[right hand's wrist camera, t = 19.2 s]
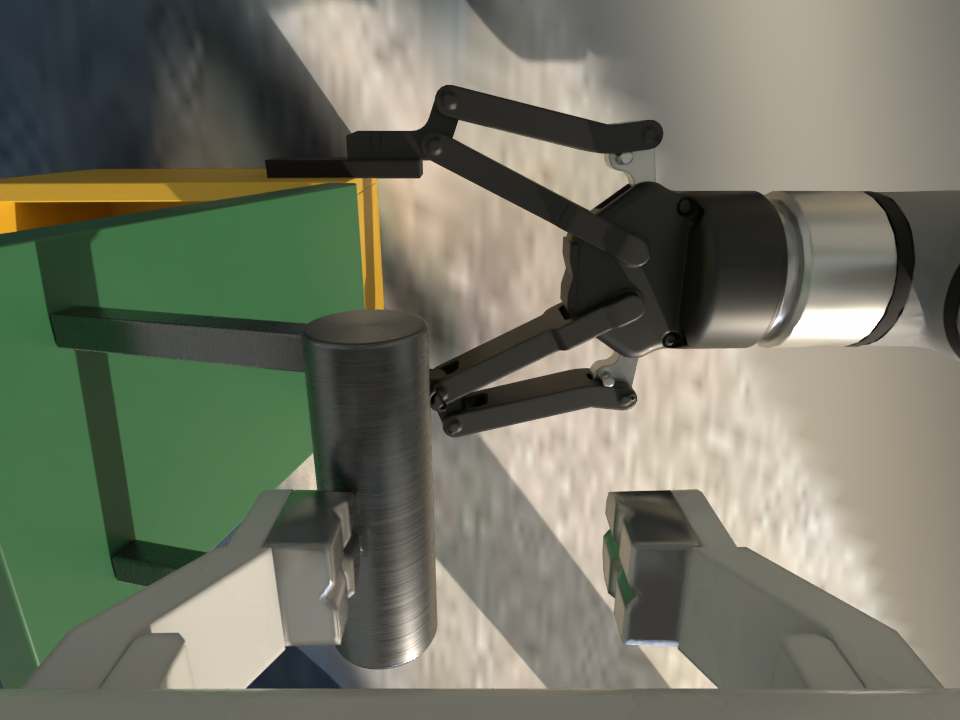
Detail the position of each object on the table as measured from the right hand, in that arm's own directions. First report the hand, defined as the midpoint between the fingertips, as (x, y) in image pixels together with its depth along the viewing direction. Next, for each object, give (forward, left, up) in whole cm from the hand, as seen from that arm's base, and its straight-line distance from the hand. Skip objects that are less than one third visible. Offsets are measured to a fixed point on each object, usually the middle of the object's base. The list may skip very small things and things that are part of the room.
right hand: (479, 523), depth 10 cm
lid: (-4, -6, -8) cm, 11 cm away
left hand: (-4, -7, -20) cm, 22 cm away
